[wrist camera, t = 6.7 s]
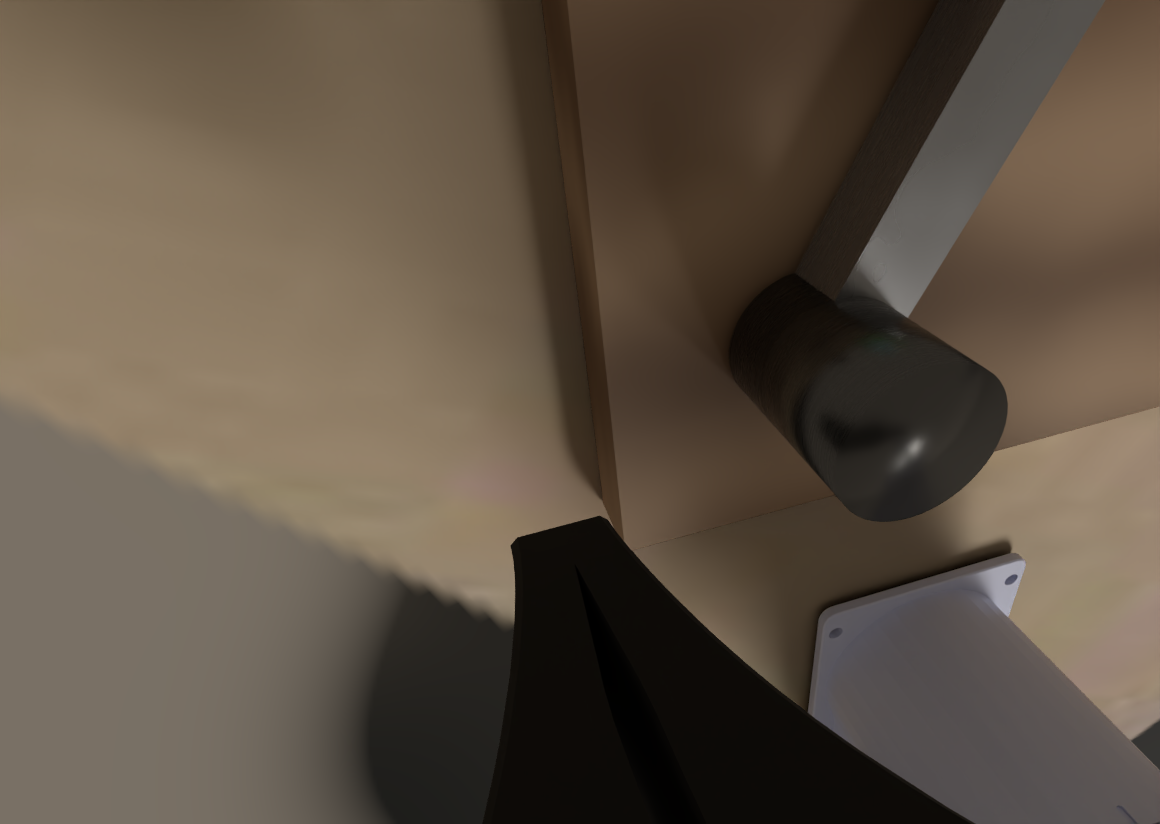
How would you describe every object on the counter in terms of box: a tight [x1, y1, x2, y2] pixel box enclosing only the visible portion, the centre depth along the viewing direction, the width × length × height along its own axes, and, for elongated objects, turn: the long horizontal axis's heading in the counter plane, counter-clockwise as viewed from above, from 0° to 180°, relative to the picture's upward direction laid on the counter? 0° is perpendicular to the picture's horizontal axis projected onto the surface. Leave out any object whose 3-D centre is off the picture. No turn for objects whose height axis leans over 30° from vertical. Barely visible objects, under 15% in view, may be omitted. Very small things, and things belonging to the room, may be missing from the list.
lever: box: [729, 0, 1105, 522], centre depth 11 cm, size 17×4×4 cm, turn 158°
